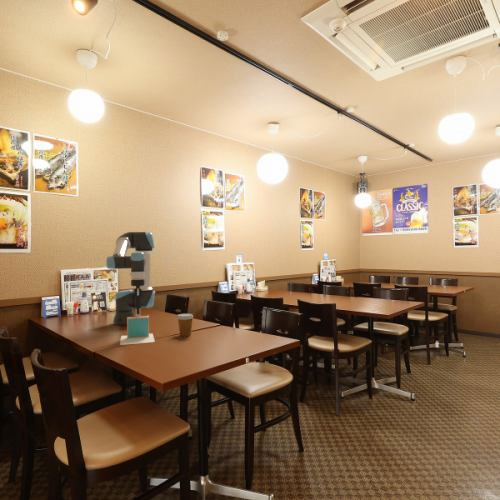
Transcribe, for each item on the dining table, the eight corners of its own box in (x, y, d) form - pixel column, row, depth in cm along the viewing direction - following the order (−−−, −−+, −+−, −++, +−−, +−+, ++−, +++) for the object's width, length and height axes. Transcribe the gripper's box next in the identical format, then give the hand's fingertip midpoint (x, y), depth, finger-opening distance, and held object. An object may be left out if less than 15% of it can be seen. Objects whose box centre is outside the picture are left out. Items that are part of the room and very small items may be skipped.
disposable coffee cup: (190, 336, 205) (189, 316, 205) (174, 336, 207) (174, 316, 207) (195, 333, 214) (195, 313, 214) (181, 332, 216) (180, 313, 216)
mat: (121, 336, 207) (121, 335, 207) (152, 334, 212) (152, 333, 212) (119, 346, 186) (119, 344, 186) (154, 342, 191) (154, 341, 191)
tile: (127, 337, 202) (127, 317, 200) (148, 335, 206) (148, 315, 204) (127, 338, 200) (127, 318, 198) (149, 336, 204) (149, 317, 202)
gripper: (131, 278, 208) (131, 318, 208) (130, 279, 196) (131, 322, 196) (144, 278, 211) (144, 317, 210) (144, 279, 198) (145, 321, 198)
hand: (138, 319), depth 203 cm, fingers closed
